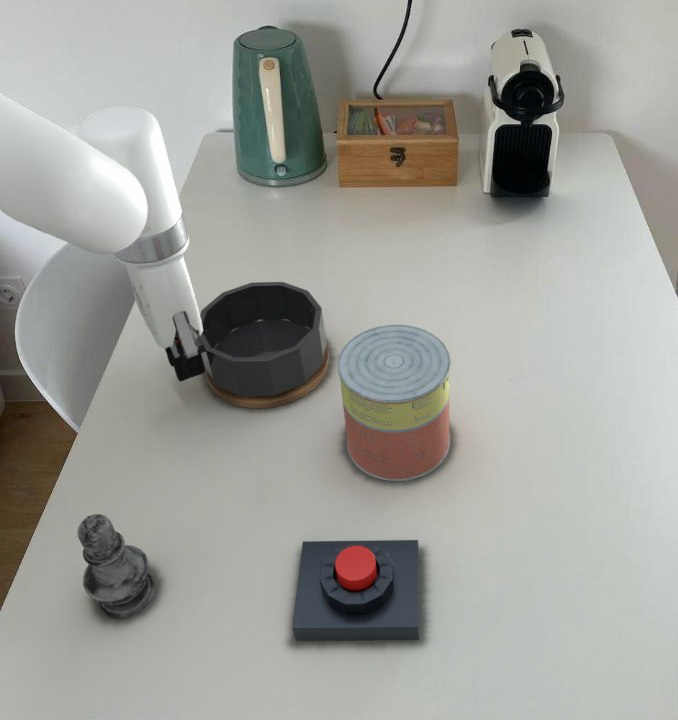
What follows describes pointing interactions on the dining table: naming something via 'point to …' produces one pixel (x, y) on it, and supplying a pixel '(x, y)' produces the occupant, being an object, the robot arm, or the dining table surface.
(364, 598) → the button box
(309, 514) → the dining table surface
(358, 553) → the button
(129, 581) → the grey chess pawn
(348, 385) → the canned food
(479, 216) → the dining table surface
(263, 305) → the saucepan
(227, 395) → the trivet
